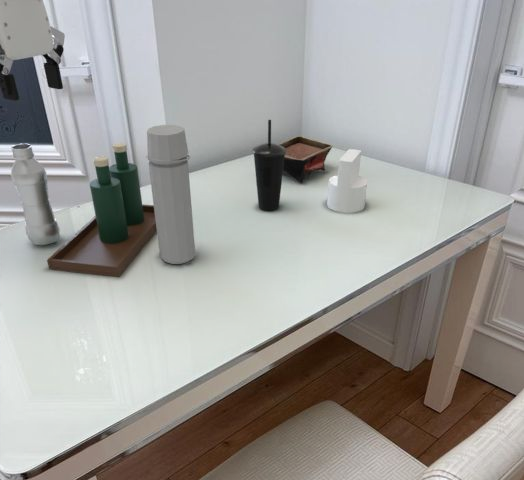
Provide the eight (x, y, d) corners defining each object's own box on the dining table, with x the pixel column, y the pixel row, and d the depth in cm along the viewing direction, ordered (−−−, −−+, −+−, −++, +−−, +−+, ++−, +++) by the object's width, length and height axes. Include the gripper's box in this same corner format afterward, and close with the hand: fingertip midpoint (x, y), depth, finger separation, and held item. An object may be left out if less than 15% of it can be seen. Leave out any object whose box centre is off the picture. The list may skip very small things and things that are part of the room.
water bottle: (188, 268, 108) (177, 137, 93) (152, 263, 110) (135, 133, 95) (206, 248, 115) (197, 123, 100) (171, 243, 117) (158, 120, 102)
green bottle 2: (113, 224, 123) (99, 148, 113) (123, 213, 128) (111, 139, 117) (138, 226, 122) (127, 149, 112) (148, 216, 127) (138, 141, 116)
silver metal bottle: (35, 235, 120) (10, 141, 108) (66, 235, 120) (44, 141, 108) (24, 248, 115) (-4, 151, 103) (56, 249, 115) (32, 152, 102)
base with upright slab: (359, 215, 128) (365, 163, 121) (322, 209, 131) (326, 158, 124) (368, 201, 135) (374, 151, 128) (332, 196, 138) (336, 147, 130)
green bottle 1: (95, 242, 116) (79, 162, 106) (107, 230, 121) (93, 152, 110) (122, 244, 115) (108, 164, 105) (133, 232, 120) (121, 154, 109)
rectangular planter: (335, 178, 153) (339, 140, 148) (296, 186, 141) (299, 145, 136) (294, 171, 161) (297, 134, 156) (254, 177, 149) (255, 138, 144)
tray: (49, 269, 108) (46, 259, 106) (111, 210, 131) (110, 201, 130) (118, 277, 105) (116, 267, 104) (170, 215, 128) (169, 206, 127)
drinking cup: (291, 208, 131) (294, 121, 119) (264, 216, 128) (265, 126, 116) (272, 198, 136) (273, 113, 124) (246, 205, 133) (245, 118, 121)
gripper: (34, -28, 93) (57, 82, 104) (-59, -23, 81) (-23, 101, 92) (66, -27, 90) (86, 86, 100) (-26, -21, 78) (8, 107, 89)
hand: (34, 93), depth 96 cm, fingers open, 9 cm apart
